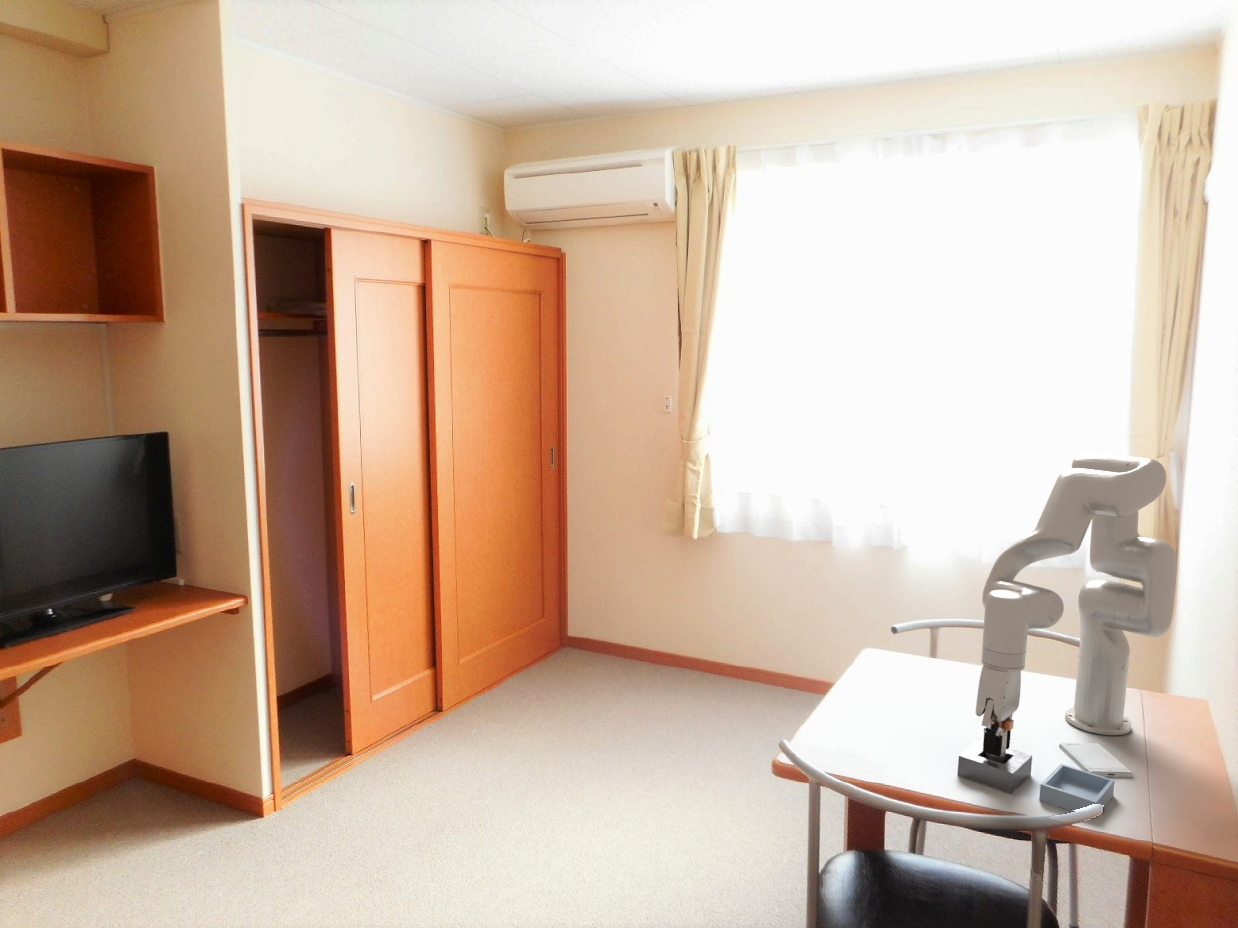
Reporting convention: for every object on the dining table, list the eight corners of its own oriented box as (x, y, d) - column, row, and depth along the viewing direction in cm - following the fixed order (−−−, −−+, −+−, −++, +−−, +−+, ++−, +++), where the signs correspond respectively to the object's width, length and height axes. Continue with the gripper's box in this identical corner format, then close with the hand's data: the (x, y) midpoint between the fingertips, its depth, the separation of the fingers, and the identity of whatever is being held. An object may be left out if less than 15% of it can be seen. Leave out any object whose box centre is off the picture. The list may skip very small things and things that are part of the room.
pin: (984, 767, 175) (988, 710, 173) (1010, 776, 171) (1015, 718, 170) (977, 773, 172) (981, 716, 171) (1004, 782, 169) (1008, 723, 167)
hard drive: (1059, 742, 184) (1090, 770, 172) (1099, 742, 184) (1133, 771, 172) (1058, 749, 185) (1089, 778, 172) (1098, 750, 185) (1132, 779, 172)
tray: (1059, 778, 171) (1061, 763, 171) (1113, 795, 165) (1114, 780, 164) (1039, 799, 163) (1040, 784, 162) (1094, 818, 157) (1096, 802, 156)
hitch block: (978, 758, 179) (979, 738, 178) (1030, 775, 172) (1032, 755, 172) (957, 775, 172) (958, 755, 171) (1011, 793, 165) (1012, 773, 164)
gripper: (999, 641, 177) (992, 730, 180) (965, 662, 165) (958, 757, 168) (1039, 651, 172) (1032, 742, 175) (1007, 673, 160) (999, 771, 163)
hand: (996, 749), depth 171 cm, fingers closed on pin, 3 cm apart
